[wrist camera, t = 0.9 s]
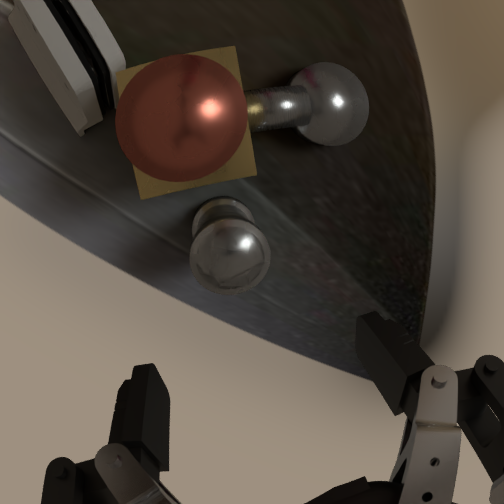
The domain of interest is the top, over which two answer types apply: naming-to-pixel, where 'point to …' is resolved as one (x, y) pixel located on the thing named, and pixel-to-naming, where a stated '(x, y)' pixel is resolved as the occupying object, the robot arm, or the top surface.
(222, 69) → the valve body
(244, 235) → the door knob
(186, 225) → the top surface
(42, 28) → the hinge
